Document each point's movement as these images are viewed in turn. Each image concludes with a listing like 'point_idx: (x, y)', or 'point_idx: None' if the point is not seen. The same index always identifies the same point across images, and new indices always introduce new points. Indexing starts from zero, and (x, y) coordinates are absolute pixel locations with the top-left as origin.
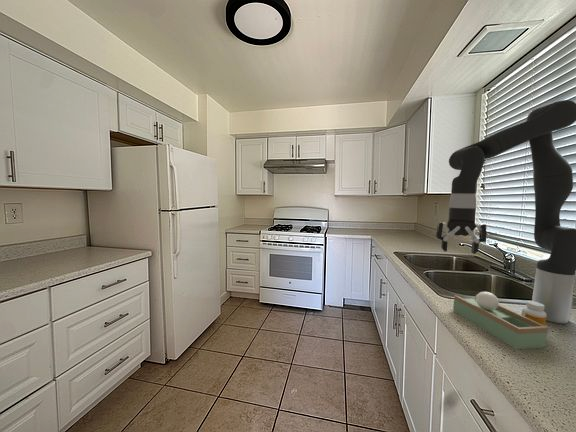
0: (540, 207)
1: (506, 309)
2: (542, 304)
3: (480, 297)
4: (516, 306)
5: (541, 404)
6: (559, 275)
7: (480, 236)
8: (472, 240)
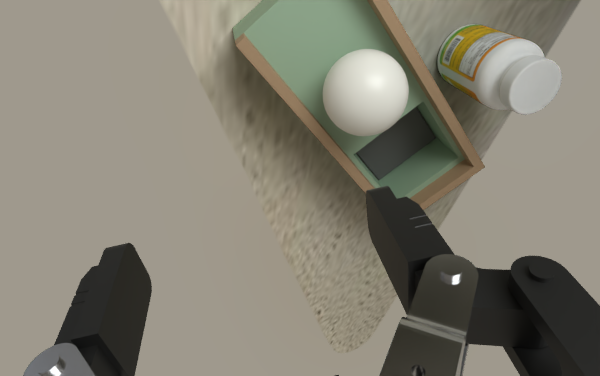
0: None
1: (422, 83)
2: (557, 84)
3: (339, 124)
4: None
5: (349, 328)
6: None
7: (546, 324)
8: (421, 276)
